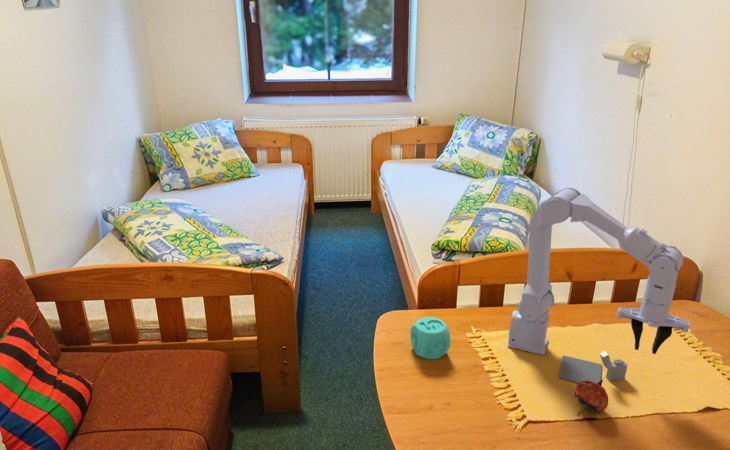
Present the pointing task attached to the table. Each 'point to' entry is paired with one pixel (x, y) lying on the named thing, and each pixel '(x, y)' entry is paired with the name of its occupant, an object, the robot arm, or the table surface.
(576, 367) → the mat
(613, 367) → the lighter
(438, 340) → the decorative dice
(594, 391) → the pomegranate
